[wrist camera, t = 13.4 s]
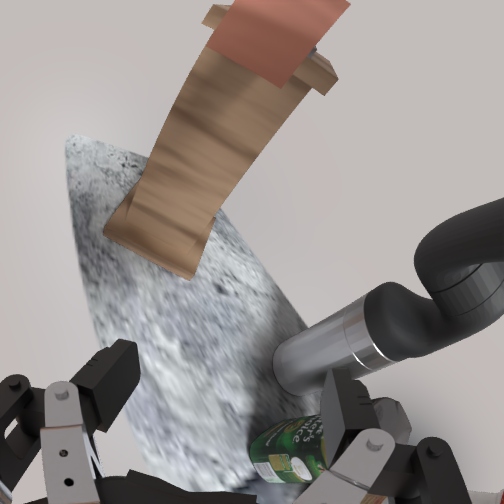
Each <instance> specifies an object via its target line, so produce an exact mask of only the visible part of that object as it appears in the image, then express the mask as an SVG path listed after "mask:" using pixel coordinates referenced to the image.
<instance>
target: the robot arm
mask: <svg viewBox="0 0 504 504" xmlns="http://www.w3.org/2000/svg"><path fill="white" fill-rule="evenodd" d="M414 266H415V269H416V272H417V275H418V277H419V279H420V281H421V283H422V284H423V286H424V287H425V289H426V290H427V292H428V293H429V295H430V296H431V298H432V299H433V300H432V299H427V298H424V297H421V296H419V295H417V294H415V293H413V292H412V291H410V290H408V289H407V288H405V287H404V286H402V285H400V284H398V283H395V282H386V283H384V284H381V285H379V286H378V287H376V288H375V289H373V290H371V291H370V292H368V293H367V294H365V295H364V296H362V297H360V298H359V299H357V300H355V301H354V302H352V303H351V304H349V305H348V306H346V307H344V308H343V309H341V310H339V311H338V312H336V313H334V314H333V315H331V316H329V317H327V318H326V319H324V320H322V321H320V322H319V323H317V324H315V325H313V326H312V327H310V328H308V329H306V330H304V331H303V332H301V333H299V334H297V335H295V336H293V337H292V338H290V339H288V340H286V341H284V342H282V343H281V344H280V345H279V346H278V347H277V349H276V350H275V353H274V356H273V370H274V374H275V376H276V379H277V381H278V382H279V384H280V385H281V386H282V387H283V388H284V389H285V390H286V391H287V392H289V393H291V394H293V395H297V396H304V395H308V394H311V393H315V392H318V391H321V390H323V392H322V395H321V401H320V411H321V418H322V426H323V433H324V441H325V449H326V457H327V466H328V469H326V470H325V471H324V472H323V473H322V474H321V475H320V476H319V477H318V478H317V479H316V480H315V481H314V482H313V483H312V484H311V485H310V486H309V488H308V489H307V490H306V491H305V492H304V493H303V494H302V495H301V496H300V497H299V498H298V499H297V500H296V501H294V502H293V503H292V504H360V502H361V501H362V500H363V498H364V497H365V495H366V494H373V495H380V496H387V497H388V503H389V504H472V502H471V499H470V496H469V493H468V490H467V488H466V485H465V483H464V480H463V477H462V475H461V472H460V470H459V467H458V465H457V462H456V460H455V457H454V455H453V452H452V450H451V448H450V446H449V445H448V443H447V442H446V441H444V440H442V439H440V438H437V437H427V438H424V439H422V440H421V441H420V442H419V443H418V445H417V446H411V445H404V444H398V443H395V441H394V439H393V437H392V436H391V435H390V434H389V433H387V432H386V431H384V430H381V427H380V424H379V421H378V418H377V415H376V413H375V410H374V407H373V405H372V401H371V399H370V396H369V393H368V390H367V388H366V386H364V385H363V384H362V382H361V381H359V380H354V379H357V378H360V377H363V376H365V375H368V374H370V373H373V372H376V371H378V370H381V369H382V368H385V367H388V366H390V365H393V364H395V363H397V362H400V361H402V360H405V359H407V358H416V357H422V356H425V355H428V354H430V353H433V352H434V351H437V350H440V349H442V348H444V347H447V346H449V345H451V344H454V343H456V342H458V341H460V340H463V339H465V338H467V337H469V336H471V335H473V334H475V333H477V332H479V331H481V330H483V329H485V328H486V327H488V326H489V325H491V324H492V323H494V322H495V321H496V320H498V319H499V318H500V317H501V316H502V315H503V314H504V198H501V199H498V200H496V201H493V202H490V203H487V204H484V205H481V206H478V207H476V208H473V209H470V210H468V211H465V212H463V213H460V214H458V215H456V216H453V217H452V218H450V219H448V220H446V221H444V222H443V223H441V224H440V225H438V226H436V227H435V228H434V229H433V230H431V231H430V232H429V233H428V234H427V235H426V236H425V237H424V238H423V239H422V241H421V242H420V243H419V245H418V247H417V249H416V252H415V255H414ZM140 374H141V371H140V364H139V356H138V348H137V344H136V343H135V342H132V341H128V340H123V339H118V340H117V341H116V342H115V343H114V344H113V345H112V346H111V347H110V348H109V347H106V348H104V349H102V350H100V351H98V352H97V353H96V354H95V355H94V356H93V357H92V358H91V360H89V361H88V362H87V363H86V365H84V366H83V367H82V368H81V369H80V370H79V371H78V372H77V373H76V374H75V376H74V377H73V378H72V379H71V380H70V381H69V382H67V381H59V382H55V383H52V384H51V385H50V386H48V387H47V388H46V389H41V388H34V387H31V385H30V382H29V380H28V378H27V377H25V376H24V375H20V374H16V375H10V376H8V377H6V378H5V379H4V380H3V381H2V382H1V383H0V504H11V503H12V495H11V493H12V491H13V489H14V488H15V486H16V485H17V483H18V482H19V480H20V478H21V477H22V476H23V474H24V473H25V471H26V470H27V468H28V467H29V465H30V463H31V462H32V461H33V459H34V458H35V456H36V455H37V453H38V452H39V450H40V449H41V450H42V461H43V469H44V478H45V484H46V491H47V497H45V498H42V499H39V500H36V501H32V502H28V503H25V504H258V503H256V499H257V495H250V494H240V493H232V492H225V491H220V492H188V491H185V490H183V489H181V488H179V487H176V486H174V485H172V484H170V483H168V482H166V481H164V480H162V479H160V478H157V477H154V476H150V475H146V474H143V473H140V472H137V471H134V470H131V469H130V470H129V472H128V474H127V476H109V477H106V476H105V473H104V470H103V467H102V464H101V460H100V457H99V453H98V450H97V446H96V442H95V438H94V435H93V433H94V432H95V430H96V429H97V430H100V431H102V432H105V433H106V432H107V431H108V429H109V428H110V426H111V425H112V423H113V421H114V420H115V418H116V417H117V415H118V414H119V412H120V411H121V409H122V408H123V406H124V405H125V403H126V402H127V400H128V399H129V397H130V395H131V394H132V392H133V391H134V389H135V388H136V386H137V385H138V383H139V380H140ZM14 419H16V421H17V422H18V424H17V425H16V427H15V428H14V429H13V430H12V431H11V433H10V434H9V435H8V436H7V438H6V439H5V436H4V434H5V430H6V428H7V427H8V426H9V425H10V423H11V422H12V421H13V420H14Z"/></svg>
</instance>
